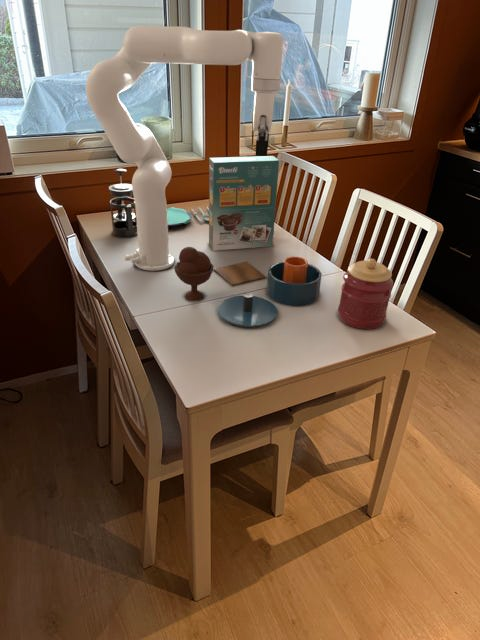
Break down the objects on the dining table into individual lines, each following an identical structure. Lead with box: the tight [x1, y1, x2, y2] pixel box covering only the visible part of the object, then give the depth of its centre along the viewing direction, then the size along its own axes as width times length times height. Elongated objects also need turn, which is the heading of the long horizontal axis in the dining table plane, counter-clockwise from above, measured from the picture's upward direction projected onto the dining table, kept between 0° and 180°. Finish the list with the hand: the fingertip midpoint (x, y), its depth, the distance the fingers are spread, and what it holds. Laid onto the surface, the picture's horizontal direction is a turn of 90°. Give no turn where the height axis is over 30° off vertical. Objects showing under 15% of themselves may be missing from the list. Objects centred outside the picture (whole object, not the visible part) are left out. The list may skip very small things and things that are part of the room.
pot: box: [266, 261, 322, 307], centre depth 148 cm, size 15×16×7 cm
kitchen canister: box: [337, 258, 394, 330], centre depth 135 cm, size 13×13×18 cm
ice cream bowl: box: [173, 246, 215, 302], centre depth 142 cm, size 11×11×15 cm
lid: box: [217, 292, 278, 328], centre depth 138 cm, size 16×16×6 cm
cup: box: [282, 256, 309, 284], centre depth 147 cm, size 7×7×10 cm
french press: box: [108, 168, 138, 239], centre depth 179 cm, size 12×9×23 cm
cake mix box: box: [208, 155, 280, 252], centre depth 172 cm, size 22×6×30 cm, turn 106°
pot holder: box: [213, 261, 266, 287], centre depth 159 cm, size 12×12×1 cm
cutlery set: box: [167, 206, 209, 227], centre depth 198 cm, size 20×30×2 cm, turn 110°
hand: (262, 151), depth 143 cm, fingers open, 9 cm apart
